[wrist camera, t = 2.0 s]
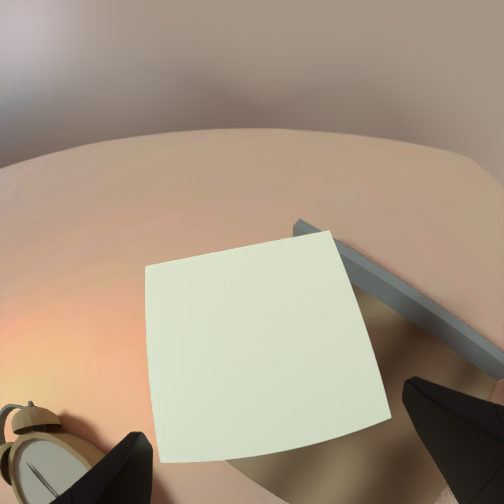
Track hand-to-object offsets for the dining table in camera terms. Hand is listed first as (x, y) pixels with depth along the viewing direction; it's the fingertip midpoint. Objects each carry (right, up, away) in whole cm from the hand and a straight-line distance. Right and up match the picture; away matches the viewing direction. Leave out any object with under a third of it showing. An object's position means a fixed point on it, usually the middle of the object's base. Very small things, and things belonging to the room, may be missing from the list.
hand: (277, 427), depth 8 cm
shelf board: (+6, -5, +8) cm, 11 cm away
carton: (0, -3, +9) cm, 9 cm away
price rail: (+11, 0, +11) cm, 15 cm away
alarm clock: (-16, -13, +5) cm, 21 cm away
